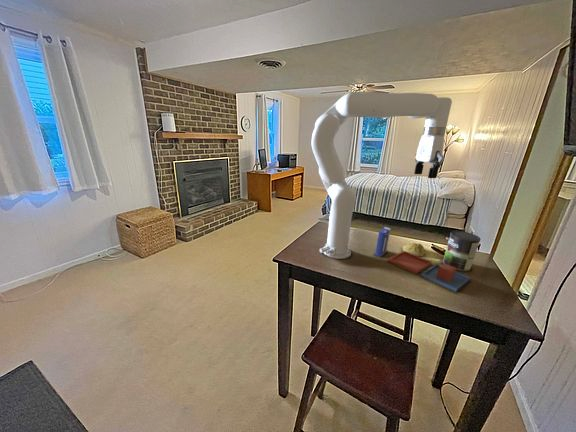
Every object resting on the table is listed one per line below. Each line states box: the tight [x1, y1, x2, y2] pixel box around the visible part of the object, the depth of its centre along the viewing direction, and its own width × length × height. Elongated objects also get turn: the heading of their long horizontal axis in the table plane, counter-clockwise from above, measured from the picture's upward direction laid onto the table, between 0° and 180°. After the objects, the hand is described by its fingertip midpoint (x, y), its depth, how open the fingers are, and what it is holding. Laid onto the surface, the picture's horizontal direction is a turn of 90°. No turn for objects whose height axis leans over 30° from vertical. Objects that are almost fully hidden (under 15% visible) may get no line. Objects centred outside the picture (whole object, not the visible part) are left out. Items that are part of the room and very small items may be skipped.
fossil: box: [402, 242, 427, 257], centre depth 114 cm, size 11×6×10 cm
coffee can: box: [442, 230, 481, 271], centre depth 102 cm, size 10×10×14 cm
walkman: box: [374, 226, 392, 258], centre depth 110 cm, size 8×3×12 cm, turn 141°
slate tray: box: [420, 263, 471, 292], centre depth 93 cm, size 13×12×2 cm
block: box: [437, 262, 458, 282], centre depth 93 cm, size 4×4×4 cm
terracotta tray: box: [387, 250, 432, 274], centre depth 104 cm, size 13×12×2 cm
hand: (424, 176), depth 100 cm, fingers open, 9 cm apart
